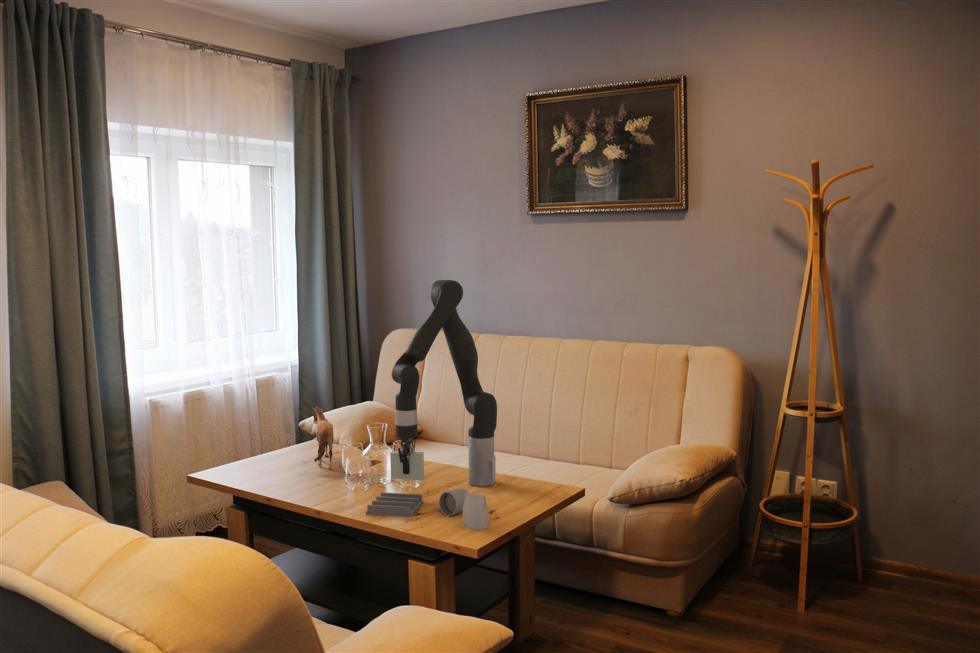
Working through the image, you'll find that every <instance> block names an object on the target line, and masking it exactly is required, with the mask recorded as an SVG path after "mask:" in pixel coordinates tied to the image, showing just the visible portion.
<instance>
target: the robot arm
mask: <svg viewBox="0 0 980 653" xmlns="http://www.w3.org/2000/svg"><path fill="white" fill-rule="evenodd" d="M429 289H430V290H429V296H430V300H431V302H432V305H433V307H434V308H433V309H432V311H431V313H430V314H429V316H428V317H427V318H426V320H424V321H423V323H422V324H421V325H420V326H419V327H418V329H417V330H416V331H415V333H413V337H412V338H411V340H410V341H409V343H408V346H407V348H406V349H405V350H404V352H403V353H402V354H401V355H400V356H399V358H398V359H397V360H396V361H395V363H394V365H393V367H392V369H391V378H392V380H393V382H395V383H396V384H400V389H399V391H398V392H397V393H396V395H395V397H394V398H395V401H394V402H395V404H394V405H395V414H394V425H395V427H394V429H395V437H396V438H398V439H400V443H399V447H398V449H397V451H398V453H399V458H400V463H403V474H409V473H410V465H409V462H410V456H411V452H416V451H415V449H416V439H414V438H416V437H418V435H419V432H418V431H419V430H418V429H419V428H418V427H419V426H418V425H419V424H418V423H419V422H418V410H417V394H418V390H419V385H420V373H419V372H420V371H419V370H418V368H417V367H416V366H417V364H418V363H420V362H423V361H424V360H425V359H426V357H427V356H428V353H429V352H430V350H431V348H432V346H433V343H435V340H436V338H437V336H438V335H439V333H440V331H441V330H442V331H443V334H444V337H445V339H446V340H445V341H446V343H447V347H448V350H449V354H450V357H451V360H452V362H453V365H454V368H455V373H456V375H457V378H458V381H459V384H460V388H461V395H462V399H463V403H464V406H465V409H466V411H467V413H468V414H470V415H472V416H473V423H472V424H473V425H471V426H470V427H469V428H468V484H469V485H470V486H474V487H488V486H489V487H490V486H494V484H495V483H496V479H497V478H496V476H497V475H496V455H495V431H496V430H497V425H498V424H497V421H498V420H497V418H498V402H497V398H496V397H495V396H494V395H493V394H491V393H489V392H486V391H484V390H483V387H482V384H481V382H480V379H479V375H478V366H479V361H478V360H479V354H478V350H477V347H476V343H475V341H474V338H473V335H472V334H471V332H470V331H469V329H468V327H467V326H466V324H465V323H464V322H463V321H462V319H461V317H460V315H459V313H458V309H457V307H458V306H459V305H460V303H461V301H462V299H463V296H464V288H463V287H462V285H461V283H460V282H458V281H456V280H454V279H453V280H451V279H439V280H436V281H434V282H433V283H432V285H431V286H430V288H429ZM407 453H409V454H407ZM404 458H405V459H404Z"/></svg>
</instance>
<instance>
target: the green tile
mask: <svg viewBox="0 0 980 653" xmlns="http://www.w3.org/2000/svg"><path fill="white" fill-rule="evenodd" d="M389 454H390V455H389V456H390V479H391V480H406V481H407V480H410V481H423V480H424V479H425V453H424V451H414V452H411V456H410V462H409V465H410V473H409V474H403V463H400V458H399V453H398V450H395V451H394V450H392V451H391V452H390V453H389ZM407 454H409V453H407ZM404 459H405V458H404Z"/></svg>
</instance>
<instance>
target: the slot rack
mask: <svg viewBox="0 0 980 653" xmlns="http://www.w3.org/2000/svg"><path fill="white" fill-rule="evenodd" d="M375 499H376V500H371V504H367V510H366V511H365V515H367V514H369V515H371V516H385V515H389V516H388V517H391V516H392V517H406V518H408V517H409V518H412V517H413V516H415V514H416V512H418V510H419V509H420V508H421V507H422V506H423V505H424V500H423V494H419V493H405V492H403V493H402V492H401V493H400V492H399V493H398V492H382V491H381V492H380V496H375ZM369 515H368V516H369Z"/></svg>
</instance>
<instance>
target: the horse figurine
mask: <svg viewBox="0 0 980 653" xmlns="http://www.w3.org/2000/svg"><path fill="white" fill-rule="evenodd" d="M311 409H312V410H313V411H312V413H311V414H312V416H313V421H312V422H313V423H314V424H315V428H314V429H315V431H314V432H315V435H316V441H317V444H318V449H317V457H316V458H314V459H313V460H314V463H317V462H318V463H317V466H318V467H321V466H322V465H323V463H322V458H323V457H329V462H328V466H327V468H328V469H332V468H333V465H332V464H333V462H332V460H333V459H332V457H333V446H334V445H333V443H334V440H335V439H334V426H333V424H332V422H329V420H328V419H327V418H326V416H325V414H324V412H323V410H322V408H320V407H318V406H315V407H314V406H311ZM328 449H329V450H328Z"/></svg>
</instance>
